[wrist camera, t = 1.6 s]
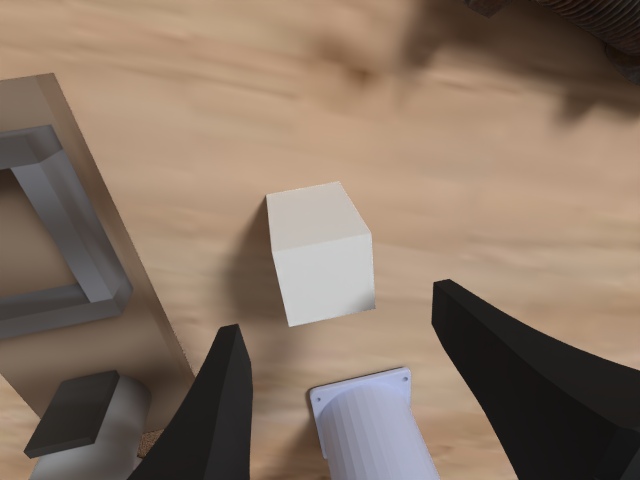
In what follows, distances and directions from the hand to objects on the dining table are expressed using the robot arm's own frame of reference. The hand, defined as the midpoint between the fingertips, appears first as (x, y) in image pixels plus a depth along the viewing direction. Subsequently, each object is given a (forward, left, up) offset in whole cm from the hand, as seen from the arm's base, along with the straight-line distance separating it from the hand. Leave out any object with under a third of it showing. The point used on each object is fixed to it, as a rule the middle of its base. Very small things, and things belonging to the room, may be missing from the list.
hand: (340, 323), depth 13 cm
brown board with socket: (-2, +14, -8) cm, 16 cm away
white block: (0, 0, -8) cm, 8 cm away
